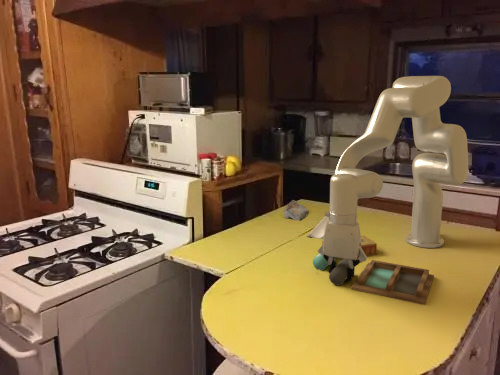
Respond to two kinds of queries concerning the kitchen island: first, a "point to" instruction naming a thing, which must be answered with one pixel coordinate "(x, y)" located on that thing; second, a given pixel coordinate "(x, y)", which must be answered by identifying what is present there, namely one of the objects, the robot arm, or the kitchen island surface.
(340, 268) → the dark gray cylinder
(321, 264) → the mint green cylinder
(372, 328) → the kitchen island surface
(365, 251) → the carton
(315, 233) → the crown molding
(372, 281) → the rack
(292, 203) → the stone
